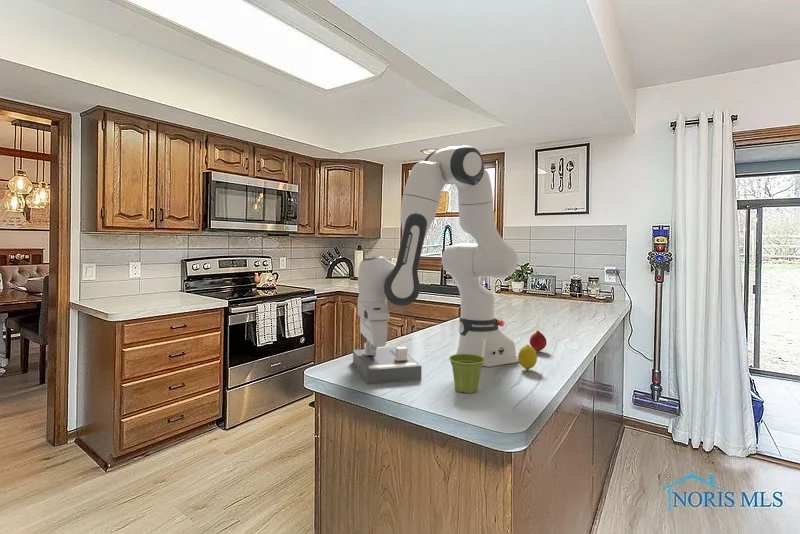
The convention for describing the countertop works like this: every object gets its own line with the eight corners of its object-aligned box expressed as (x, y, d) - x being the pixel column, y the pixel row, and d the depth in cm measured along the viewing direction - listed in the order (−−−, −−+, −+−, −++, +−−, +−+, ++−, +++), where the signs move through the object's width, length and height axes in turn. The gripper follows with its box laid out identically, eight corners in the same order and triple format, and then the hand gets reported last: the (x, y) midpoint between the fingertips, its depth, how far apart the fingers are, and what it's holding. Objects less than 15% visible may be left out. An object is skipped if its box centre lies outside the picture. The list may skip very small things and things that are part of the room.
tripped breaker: (374, 352, 137) (374, 341, 137) (376, 354, 134) (376, 343, 134) (363, 353, 136) (363, 342, 136) (364, 355, 133) (365, 344, 133)
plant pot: (460, 398, 110) (461, 365, 110) (442, 386, 119) (443, 355, 118) (490, 393, 114) (491, 361, 113) (471, 382, 122) (471, 352, 122)
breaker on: (405, 357, 131) (405, 346, 131) (408, 360, 129) (408, 348, 128) (394, 358, 130) (394, 346, 130) (396, 360, 128) (397, 349, 127)
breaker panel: (399, 358, 145) (399, 346, 145) (421, 379, 124) (421, 365, 124) (352, 362, 141) (353, 349, 140) (367, 384, 120) (367, 369, 119)
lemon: (537, 373, 131) (538, 347, 130) (518, 372, 132) (519, 346, 131) (535, 368, 136) (536, 343, 136) (517, 366, 137) (518, 342, 137)
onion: (547, 351, 157) (548, 329, 156) (543, 354, 152) (544, 332, 151) (531, 348, 160) (532, 327, 159) (527, 352, 155) (527, 330, 155)
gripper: (355, 304, 140) (355, 346, 141) (369, 315, 120) (369, 364, 121) (374, 303, 142) (374, 345, 143) (391, 314, 122) (391, 362, 123)
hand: (372, 354), depth 132 cm, fingers closed
